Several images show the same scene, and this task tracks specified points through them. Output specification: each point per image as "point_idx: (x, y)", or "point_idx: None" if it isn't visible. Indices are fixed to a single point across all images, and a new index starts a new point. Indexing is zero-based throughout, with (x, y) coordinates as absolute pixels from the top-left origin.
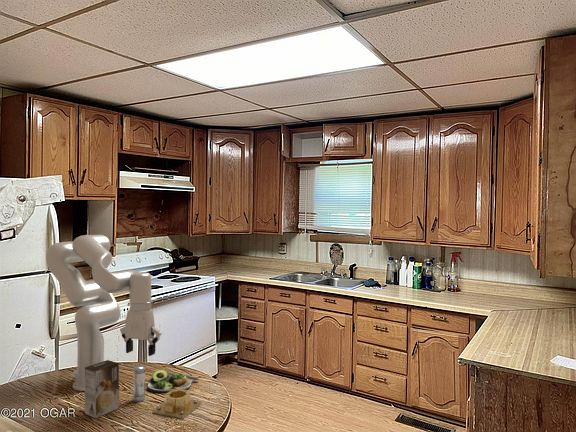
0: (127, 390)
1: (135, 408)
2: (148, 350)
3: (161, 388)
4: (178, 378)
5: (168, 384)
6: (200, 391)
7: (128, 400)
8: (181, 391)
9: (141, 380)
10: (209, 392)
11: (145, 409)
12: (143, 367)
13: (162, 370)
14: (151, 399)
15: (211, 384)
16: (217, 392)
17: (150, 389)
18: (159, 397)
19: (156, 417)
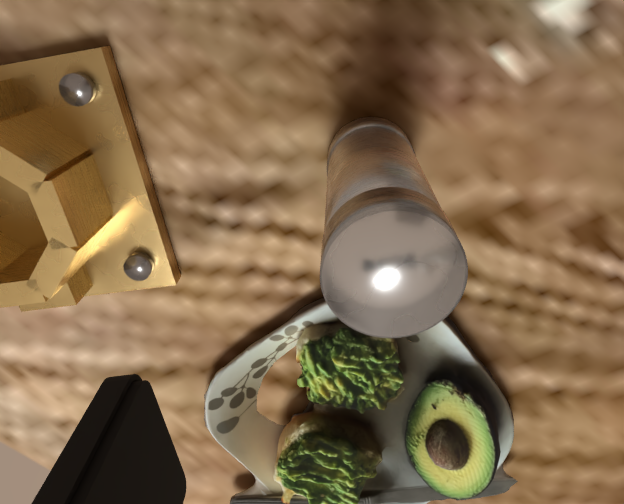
0: (561, 228)
1: (278, 35)
2: (103, 453)
3: (328, 331)
4: (289, 451)
5: (312, 380)
6: None
7: (431, 109)
8: (12, 281)
9: (329, 200)
10: None
11: (201, 63)
12: (335, 289)
13: (465, 488)
14: (293, 204)
15: None
16: (44, 441)
17: None
18: (270, 252)
19: (29, 7)
